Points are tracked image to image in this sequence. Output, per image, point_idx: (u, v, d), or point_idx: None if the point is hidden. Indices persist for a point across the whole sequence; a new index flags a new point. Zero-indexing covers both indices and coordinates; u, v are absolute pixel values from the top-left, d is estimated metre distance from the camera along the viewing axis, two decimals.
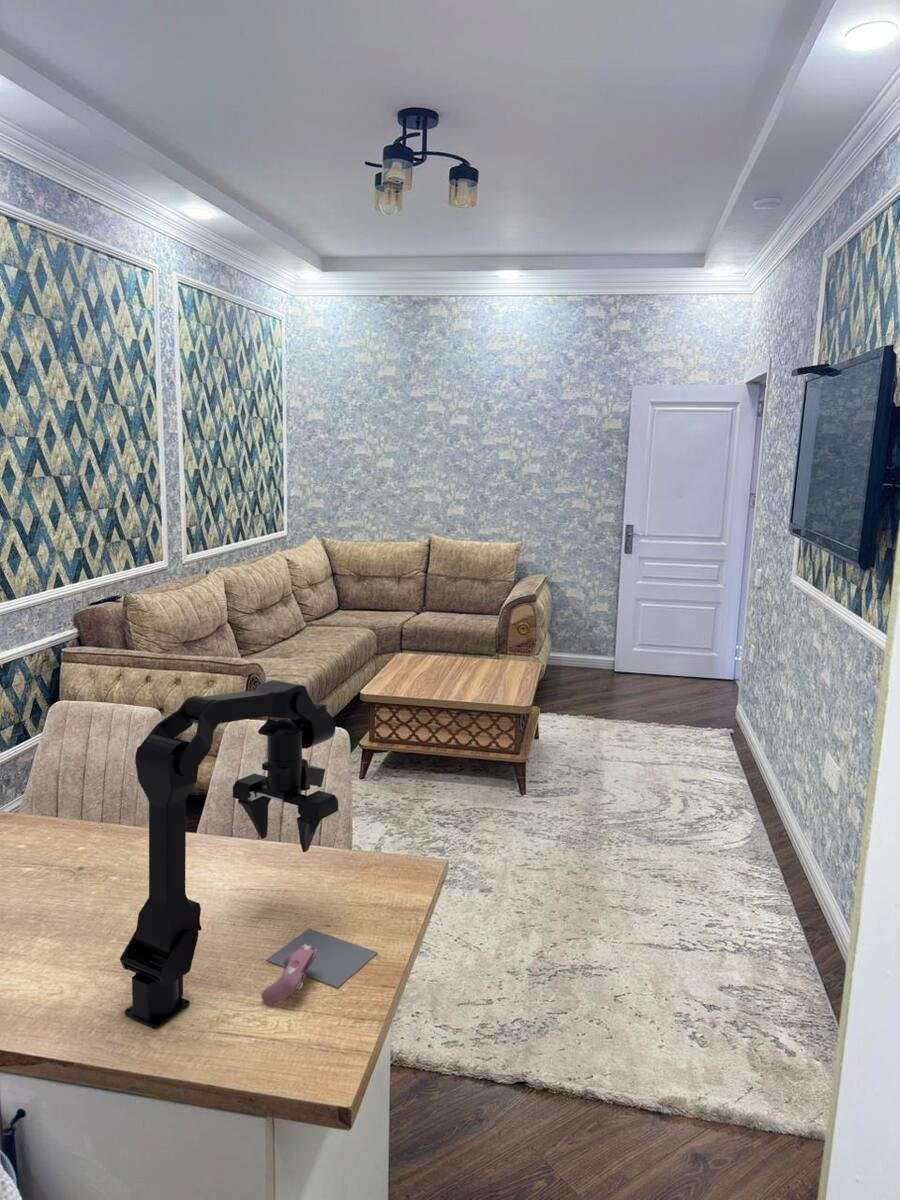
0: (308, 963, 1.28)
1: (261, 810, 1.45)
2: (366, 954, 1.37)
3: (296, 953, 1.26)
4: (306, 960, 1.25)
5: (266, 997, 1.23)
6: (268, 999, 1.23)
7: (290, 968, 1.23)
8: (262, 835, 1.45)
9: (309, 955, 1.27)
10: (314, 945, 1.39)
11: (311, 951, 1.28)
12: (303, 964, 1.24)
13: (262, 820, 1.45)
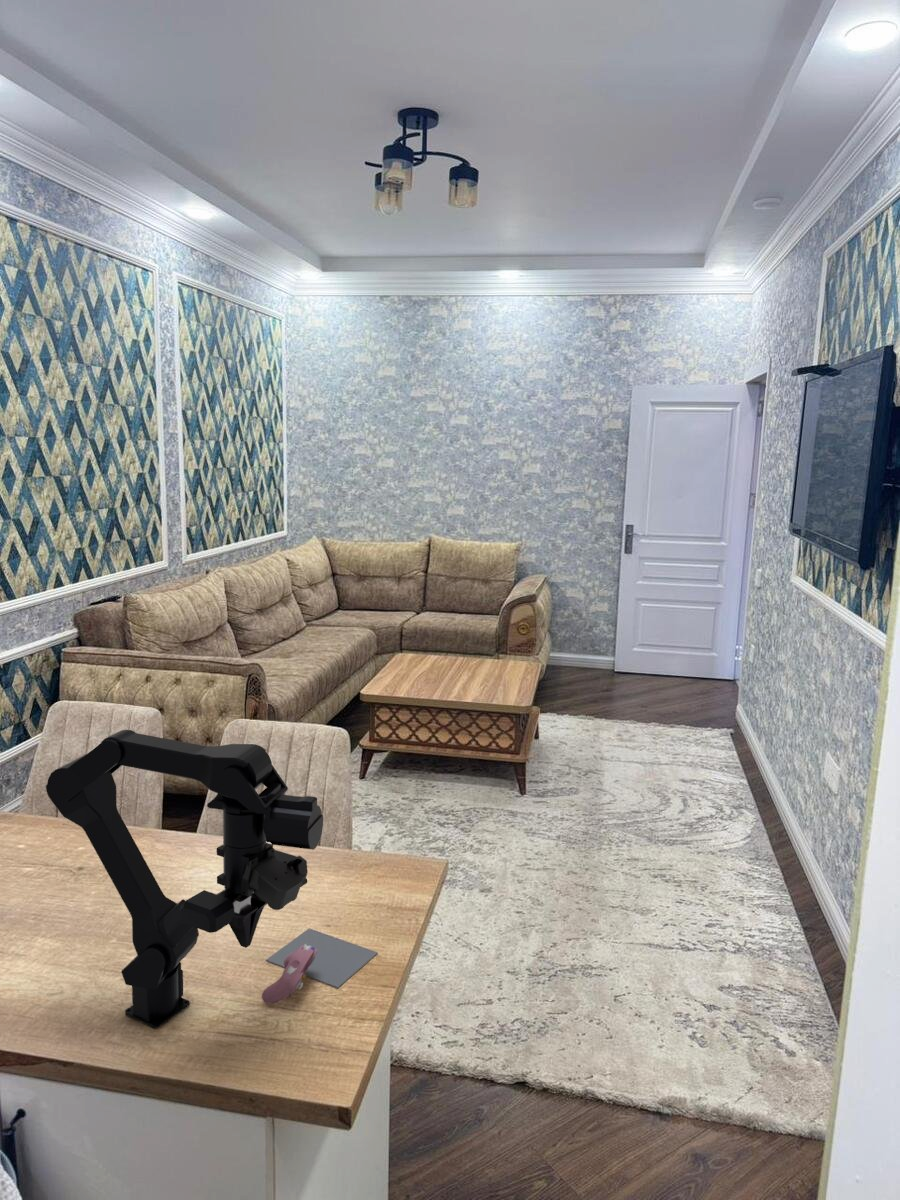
0: (308, 963, 1.28)
1: None
2: (366, 954, 1.37)
3: (296, 953, 1.26)
4: (306, 960, 1.25)
5: (266, 997, 1.23)
6: (268, 999, 1.23)
7: (290, 968, 1.23)
8: None
9: (309, 955, 1.27)
10: (314, 945, 1.39)
11: (311, 951, 1.28)
12: (303, 964, 1.24)
13: None
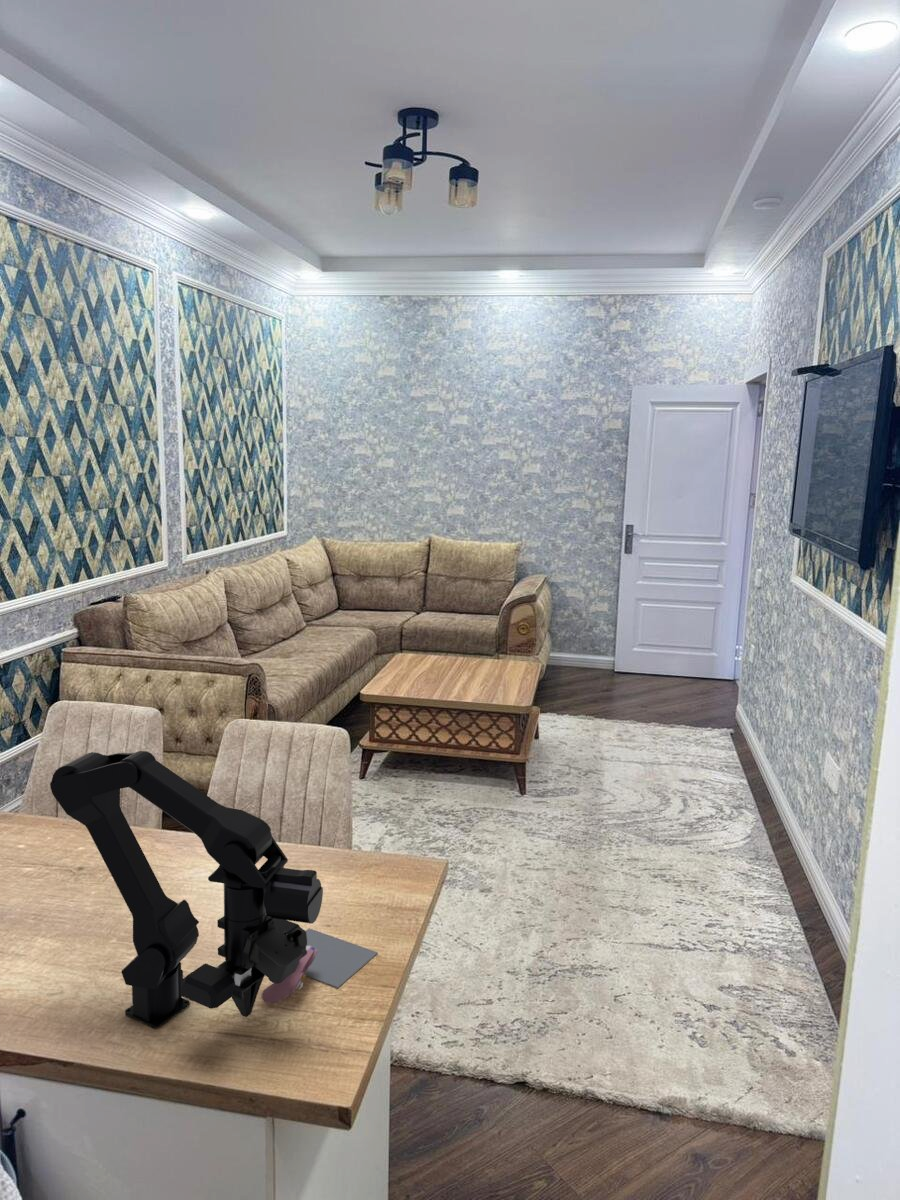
0: (308, 963, 1.28)
1: None
2: (366, 954, 1.37)
3: None
4: (306, 960, 1.25)
5: (266, 997, 1.23)
6: (268, 999, 1.23)
7: None
8: None
9: (309, 955, 1.27)
10: (314, 945, 1.39)
11: (311, 951, 1.28)
12: (303, 964, 1.24)
13: None
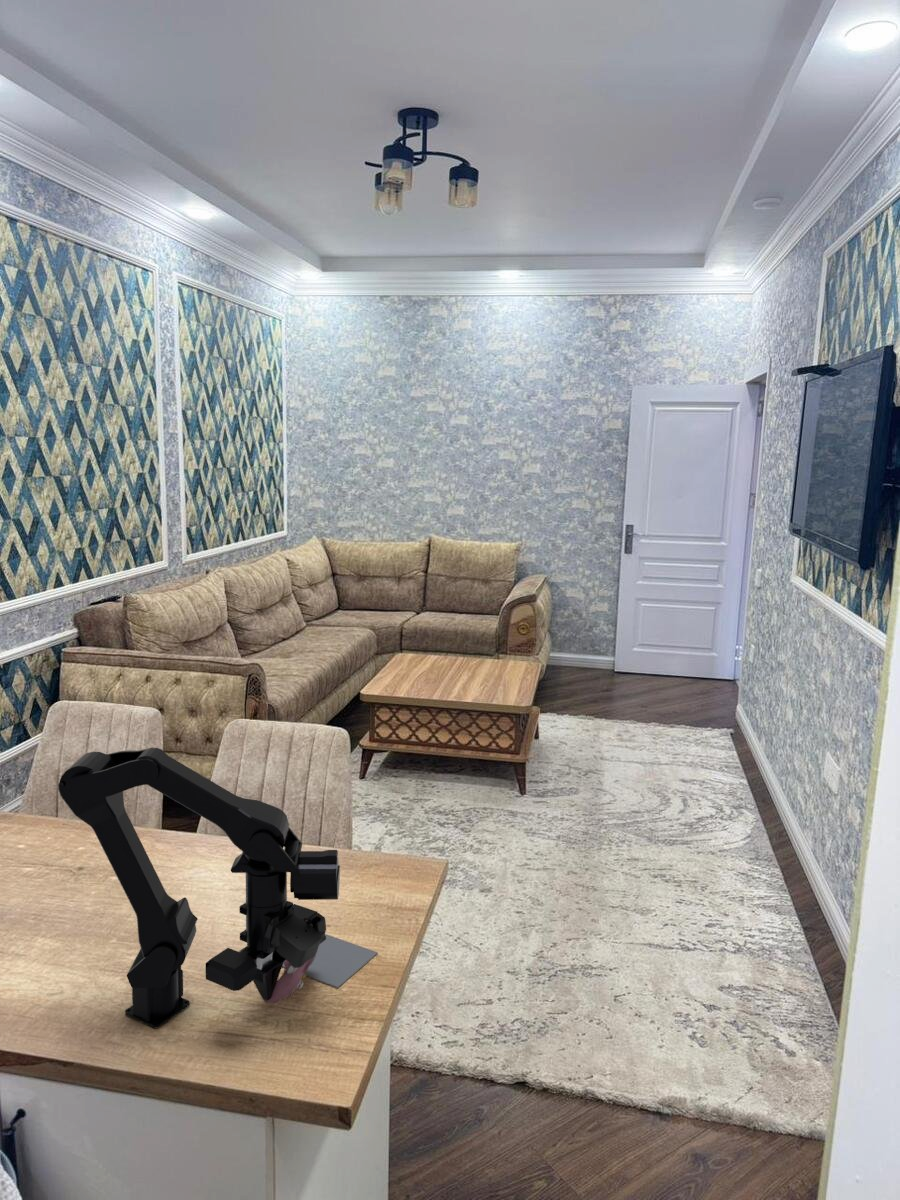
0: (308, 963, 1.28)
1: None
2: (366, 954, 1.37)
3: None
4: None
5: None
6: None
7: (290, 968, 1.23)
8: None
9: None
10: None
11: None
12: None
13: None
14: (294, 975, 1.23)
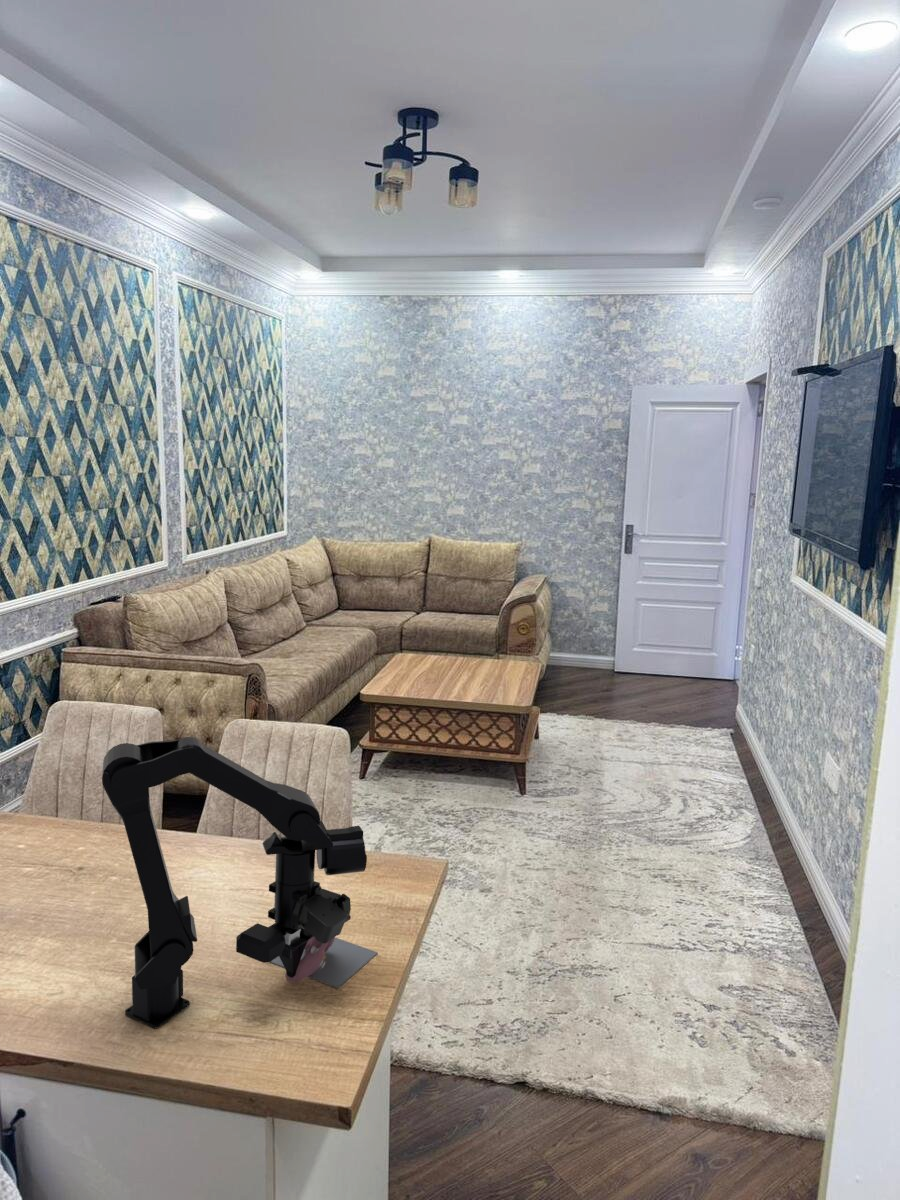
0: (329, 944, 1.33)
1: None
2: (366, 954, 1.37)
3: None
4: None
5: None
6: (292, 978, 1.28)
7: (313, 948, 1.29)
8: (287, 971, 1.27)
9: None
10: None
11: None
12: (325, 944, 1.30)
13: None
14: (317, 954, 1.28)
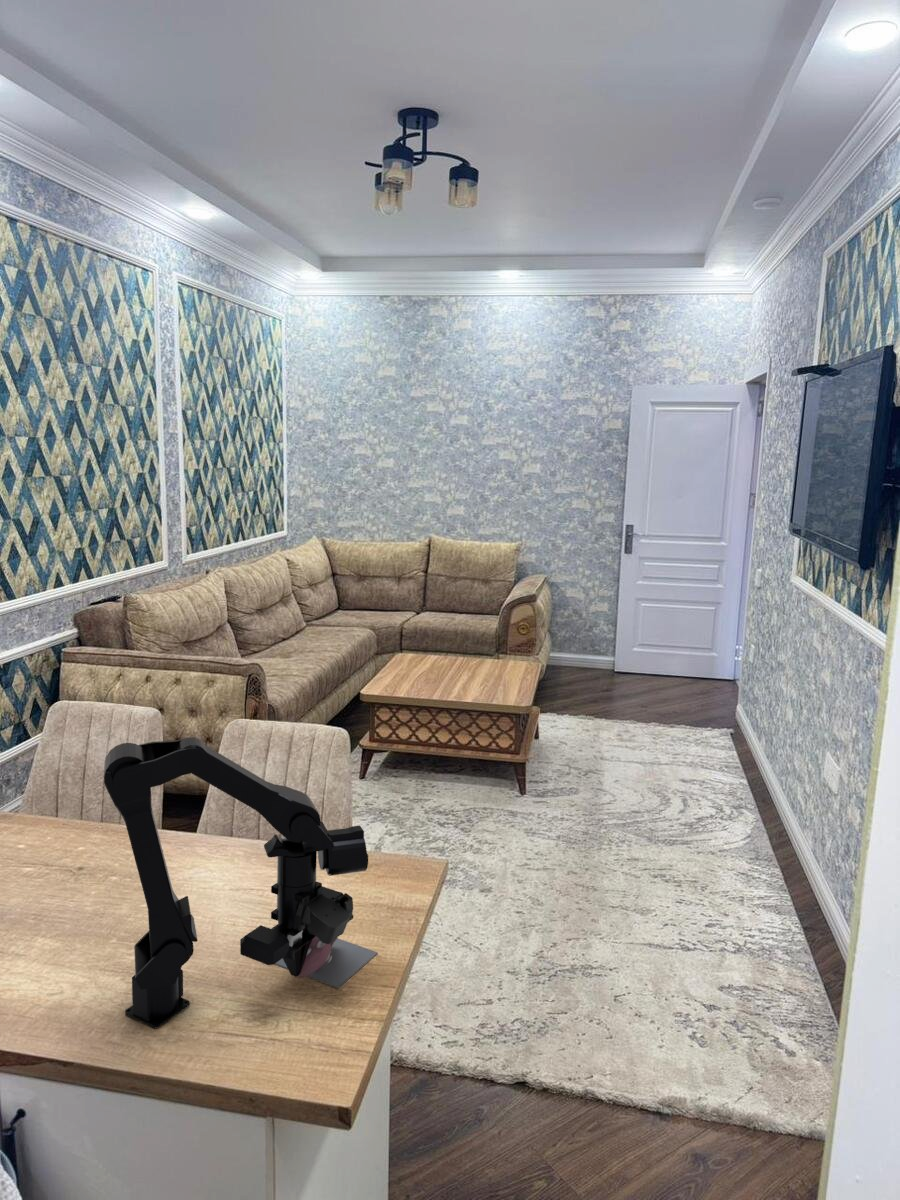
0: None
1: None
2: (366, 954, 1.37)
3: None
4: None
5: None
6: None
7: (319, 942, 1.30)
8: None
9: None
10: None
11: None
12: None
13: None
14: (323, 949, 1.29)
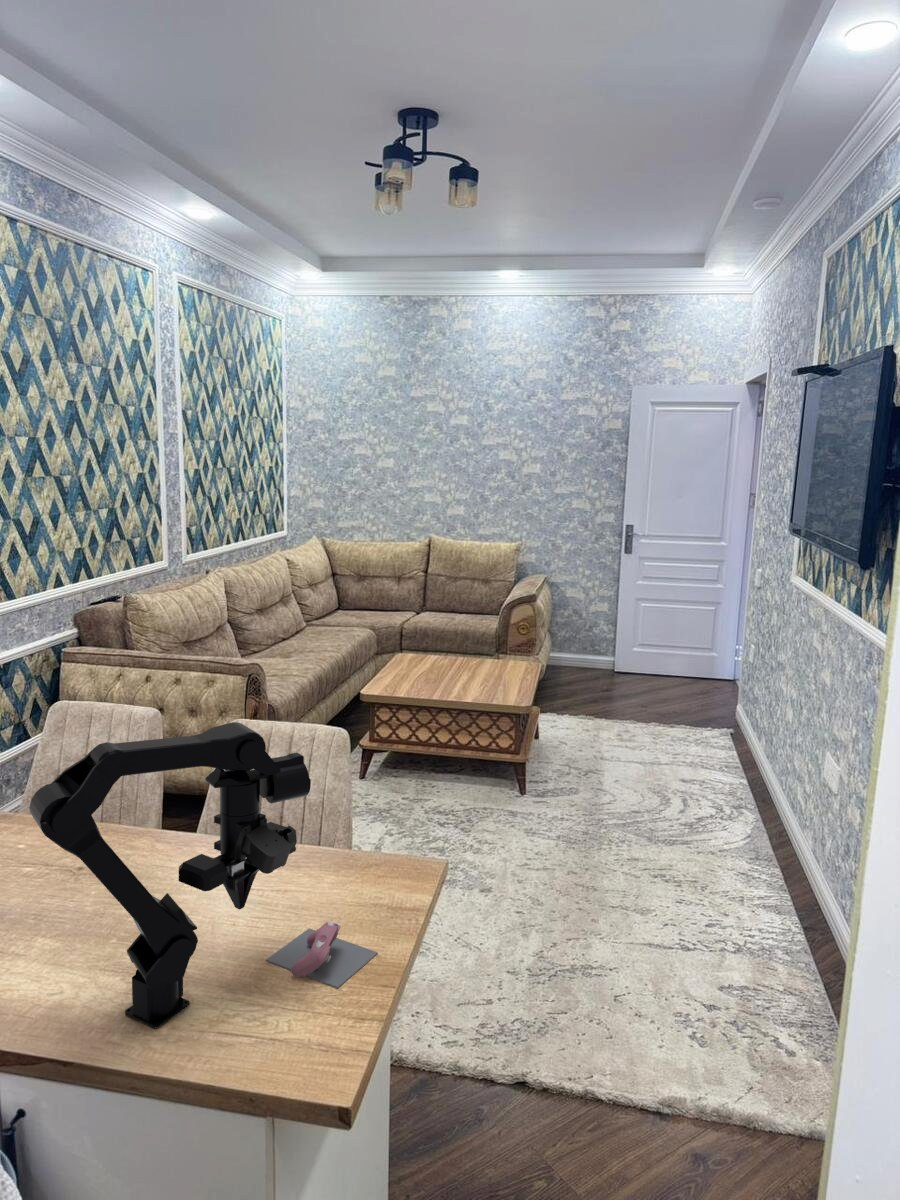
0: (333, 938, 1.35)
1: None
2: (366, 954, 1.37)
3: (322, 929, 1.33)
4: (332, 935, 1.32)
5: (295, 971, 1.29)
6: (298, 972, 1.29)
7: (318, 942, 1.30)
8: None
9: (334, 930, 1.33)
10: None
11: (335, 927, 1.35)
12: (330, 938, 1.31)
13: None
14: (322, 949, 1.29)
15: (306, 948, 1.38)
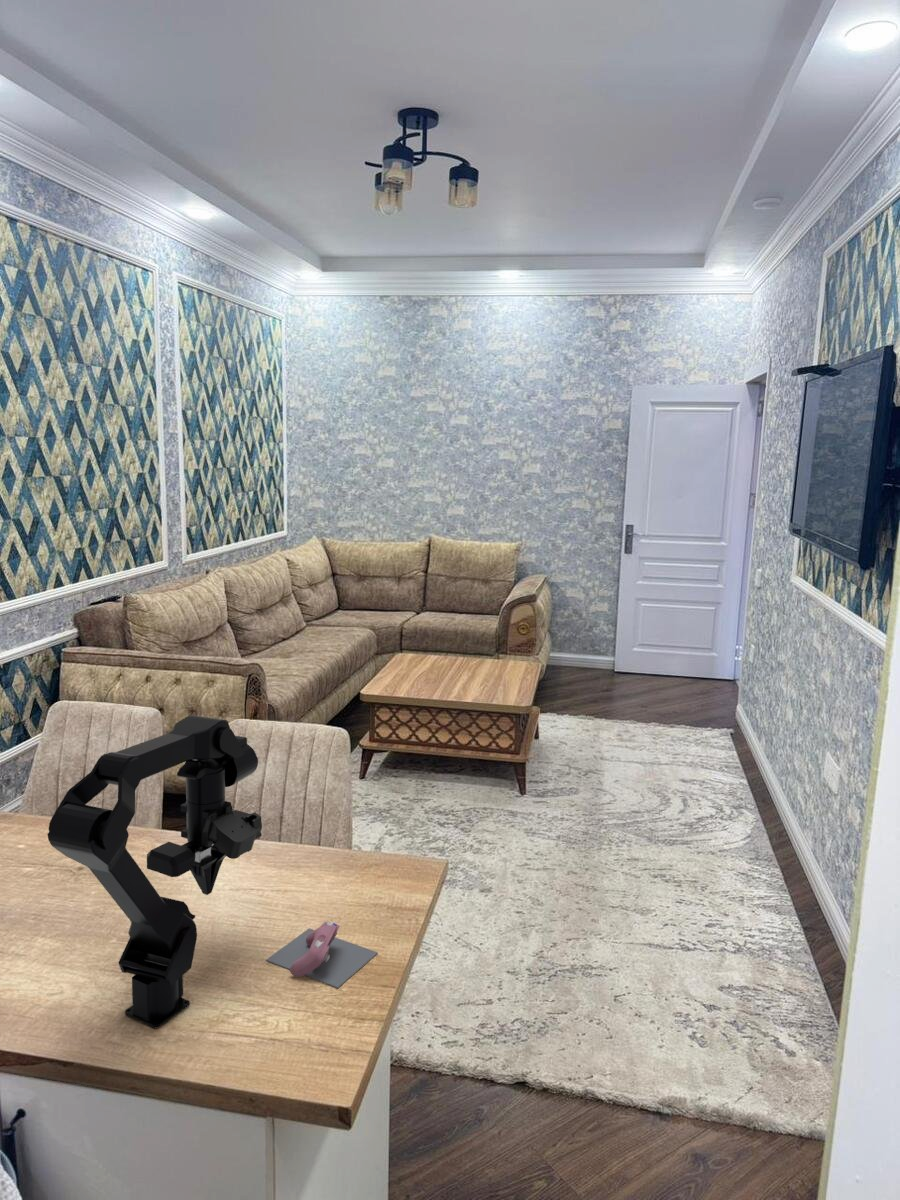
0: (332, 938, 1.35)
1: None
2: (366, 954, 1.37)
3: (321, 928, 1.33)
4: (331, 934, 1.32)
5: (294, 970, 1.29)
6: (297, 972, 1.29)
7: (317, 942, 1.30)
8: None
9: (333, 930, 1.34)
10: None
11: (334, 926, 1.35)
12: (329, 938, 1.31)
13: None
14: (321, 948, 1.29)
15: (306, 948, 1.38)
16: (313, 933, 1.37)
